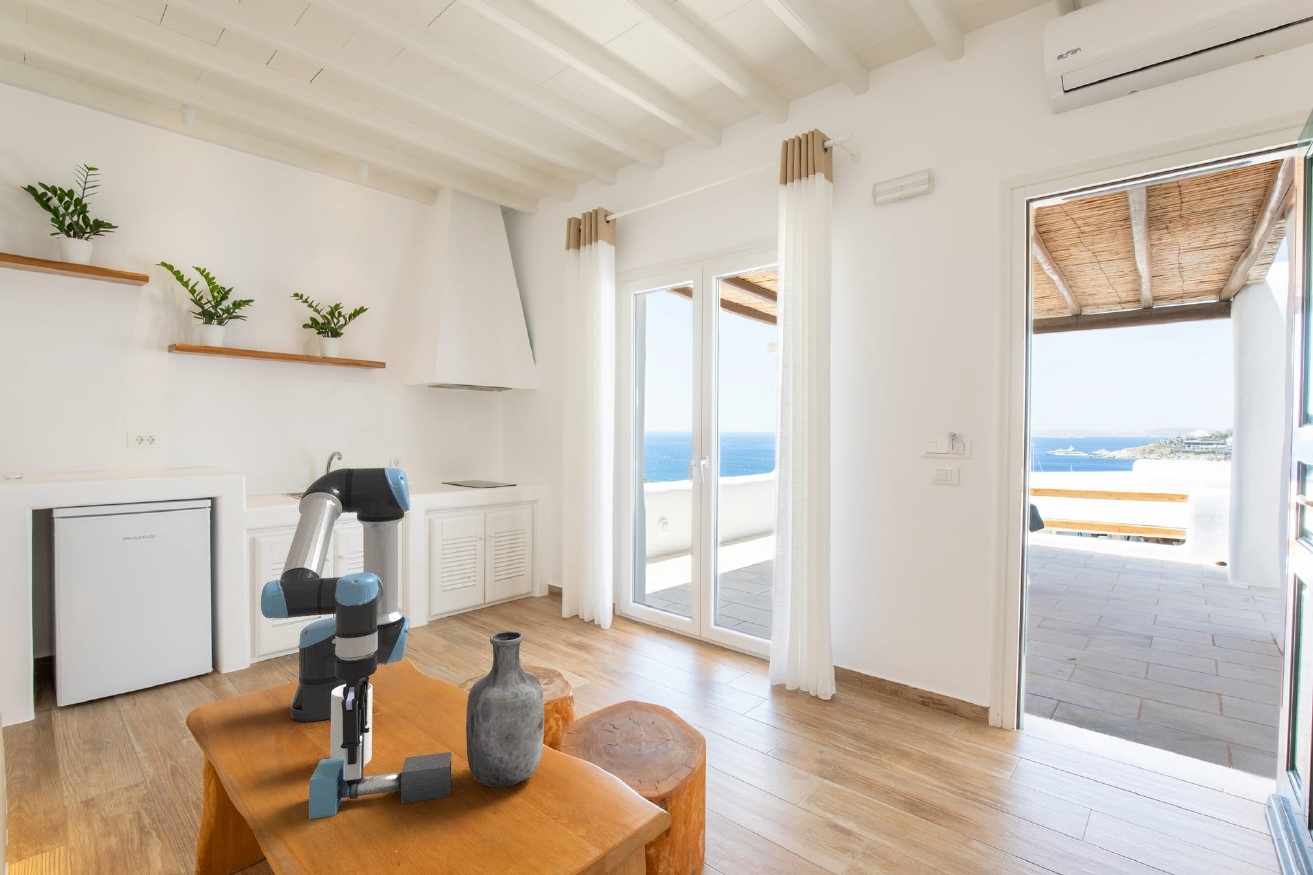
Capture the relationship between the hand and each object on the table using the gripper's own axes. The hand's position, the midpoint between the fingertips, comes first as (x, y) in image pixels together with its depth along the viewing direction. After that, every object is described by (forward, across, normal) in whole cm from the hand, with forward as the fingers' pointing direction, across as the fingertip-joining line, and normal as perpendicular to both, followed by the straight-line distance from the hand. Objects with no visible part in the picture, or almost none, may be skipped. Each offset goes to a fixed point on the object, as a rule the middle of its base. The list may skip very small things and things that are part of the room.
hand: (354, 773), depth 119 cm
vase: (+6, -1, +29) cm, 29 cm away
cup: (+6, -17, -4) cm, 18 cm away
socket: (+6, 0, -5) cm, 7 cm away
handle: (+5, 0, +3) cm, 6 cm away
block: (+6, 0, +13) cm, 15 cm away
